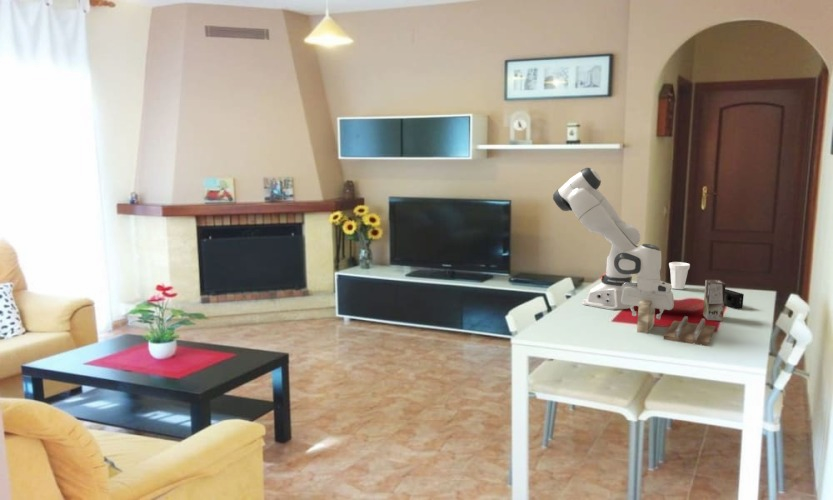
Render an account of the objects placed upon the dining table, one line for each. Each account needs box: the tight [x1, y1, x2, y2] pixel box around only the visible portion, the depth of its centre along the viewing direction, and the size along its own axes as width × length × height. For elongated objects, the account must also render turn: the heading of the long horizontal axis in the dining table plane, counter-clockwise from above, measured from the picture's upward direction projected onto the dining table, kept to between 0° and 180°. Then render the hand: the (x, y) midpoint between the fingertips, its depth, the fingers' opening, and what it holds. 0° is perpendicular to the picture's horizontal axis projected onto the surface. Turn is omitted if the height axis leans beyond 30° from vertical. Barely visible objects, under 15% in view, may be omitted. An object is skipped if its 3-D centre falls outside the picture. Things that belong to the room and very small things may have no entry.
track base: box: [662, 315, 716, 346], centre depth 263 cm, size 16×24×4 cm, turn 150°
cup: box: [668, 261, 691, 290], centre depth 341 cm, size 10×10×13 cm
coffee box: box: [702, 279, 727, 322], centre depth 286 cm, size 9×6×16 cm
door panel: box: [636, 300, 656, 334], centre depth 271 cm, size 4×14×12 cm, turn 150°
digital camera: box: [724, 288, 745, 310], centre depth 307 cm, size 10×5×7 cm, turn 21°
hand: (646, 317), depth 271 cm, fingers open, 8 cm apart
